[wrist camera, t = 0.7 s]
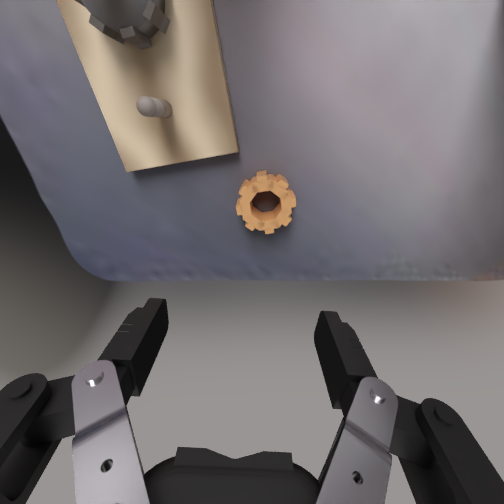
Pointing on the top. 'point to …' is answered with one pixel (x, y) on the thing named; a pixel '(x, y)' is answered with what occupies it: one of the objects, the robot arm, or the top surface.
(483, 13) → the top surface
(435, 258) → the top surface
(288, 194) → the gear
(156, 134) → the gear board
